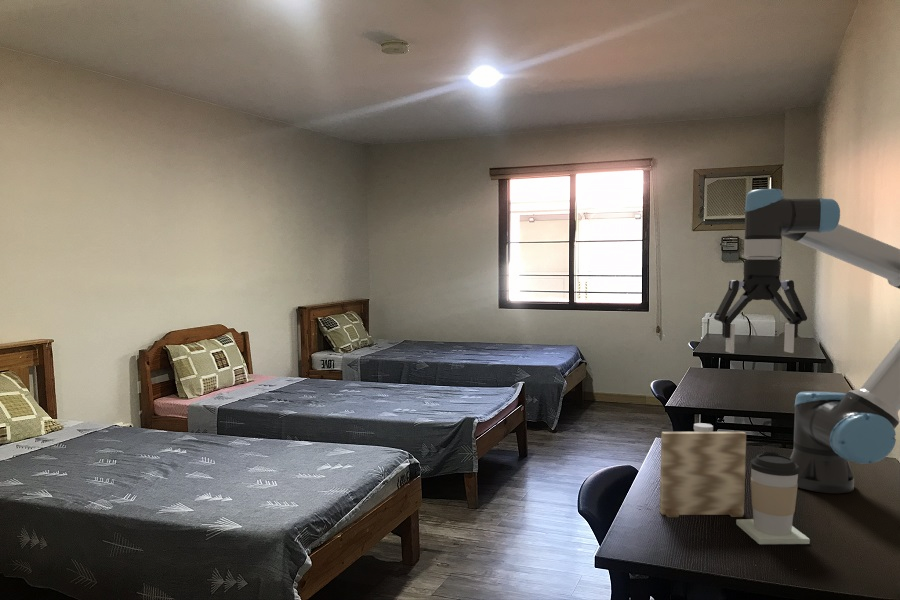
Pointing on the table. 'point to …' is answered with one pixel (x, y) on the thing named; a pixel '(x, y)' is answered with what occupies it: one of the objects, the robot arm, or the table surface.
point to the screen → (702, 473)
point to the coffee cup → (773, 493)
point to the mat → (763, 538)
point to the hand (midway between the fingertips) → (759, 352)
